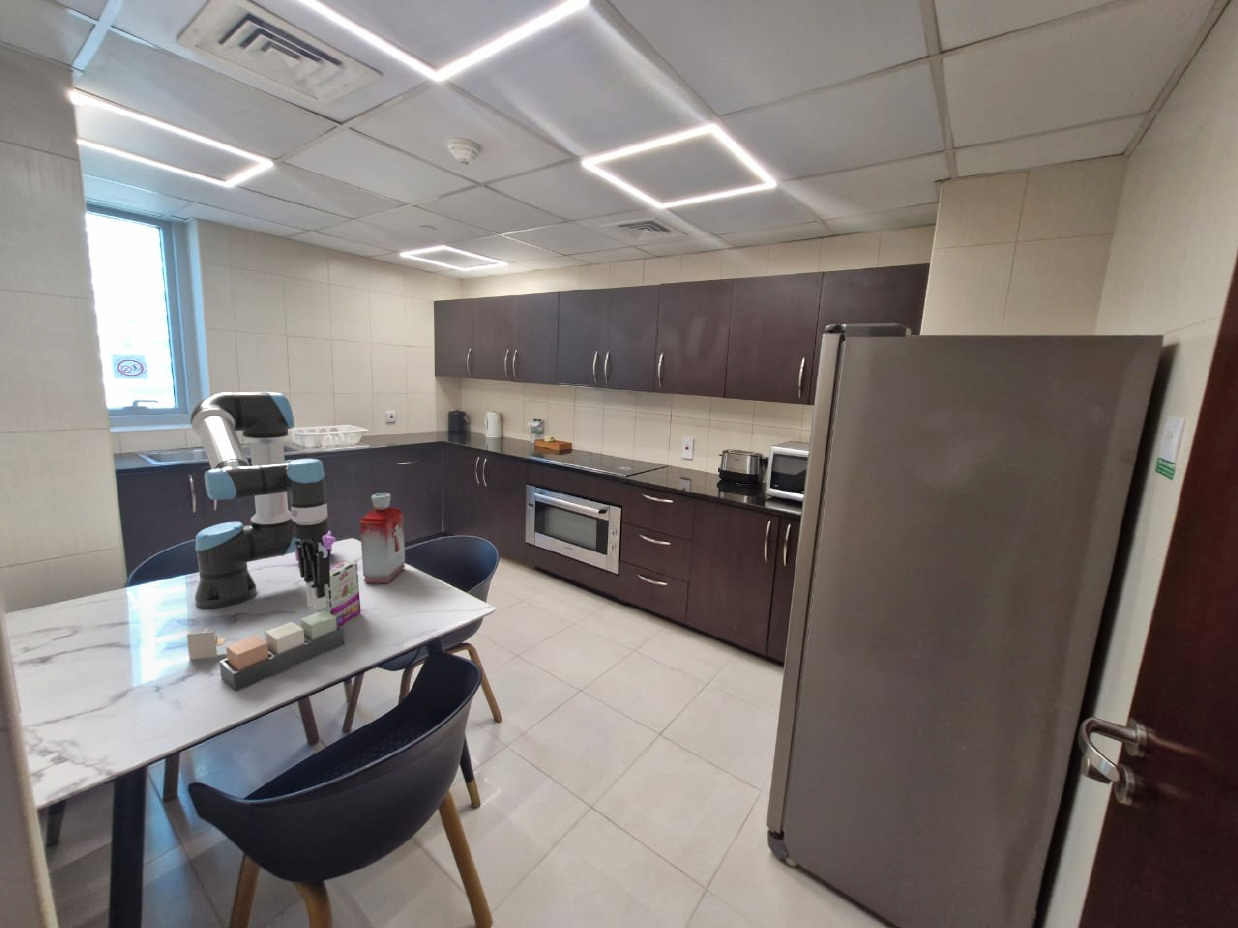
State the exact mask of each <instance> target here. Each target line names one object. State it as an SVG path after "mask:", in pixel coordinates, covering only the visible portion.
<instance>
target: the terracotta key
mask: <svg viewBox="0 0 1238 928" xmlns="http://www.w3.org/2000/svg"><path fill="white" fill-rule="evenodd" d="M226 656H227V658H228V665H229V666H230V667H231V668H232V669H233V670H235V671H239V670H241V669H243V668H246V667H248V666H251V665H253V664H256V663H258V662H261V661H263V660H265V659H268V658H269V657H268V647H267V643H266V640H263V638H261V637H259V636H258V635H256V634H255V635H253V636H250V637H247V638H244V639H241V640H238V641H236V642H234V643H230V644H228V645H226Z"/></svg>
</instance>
